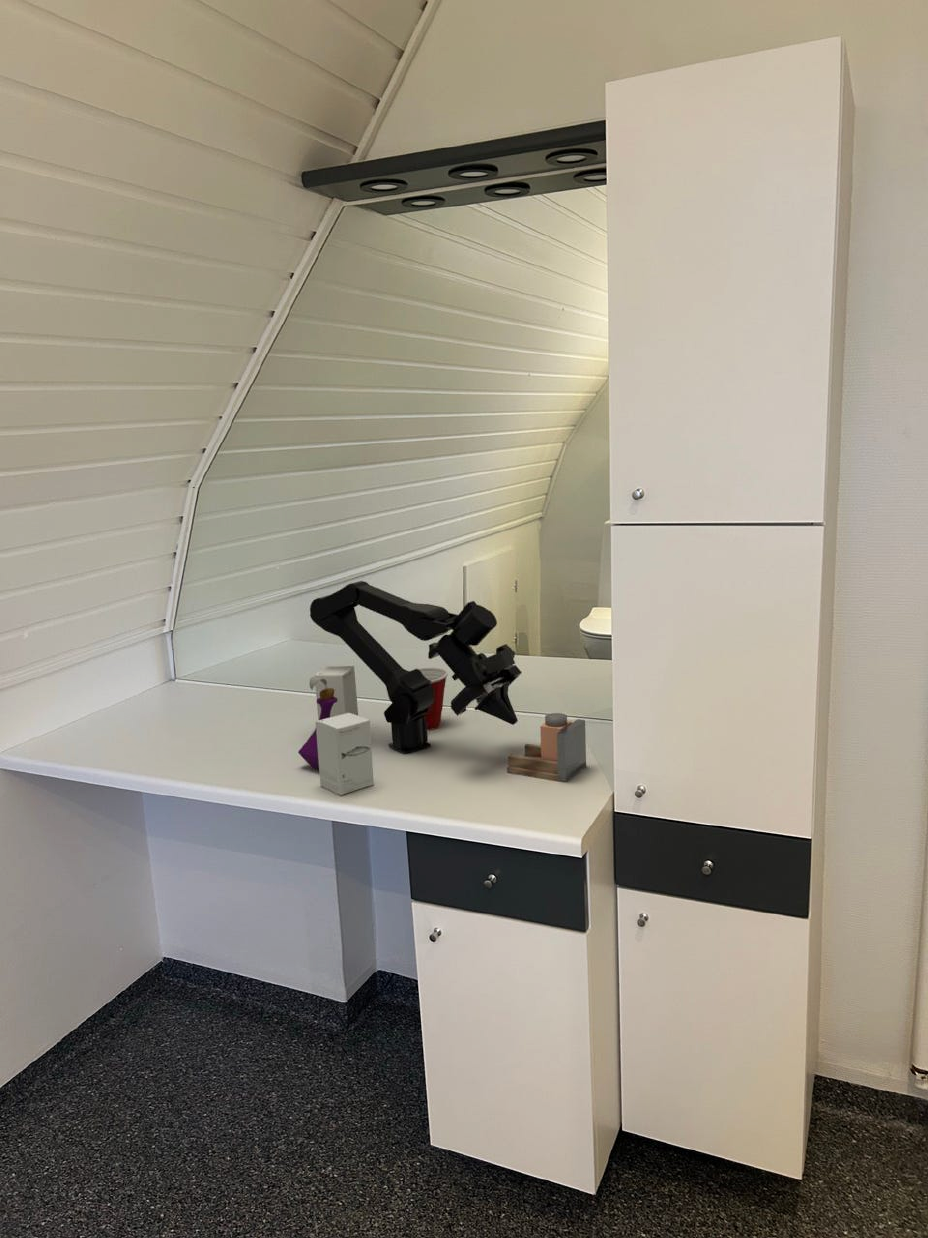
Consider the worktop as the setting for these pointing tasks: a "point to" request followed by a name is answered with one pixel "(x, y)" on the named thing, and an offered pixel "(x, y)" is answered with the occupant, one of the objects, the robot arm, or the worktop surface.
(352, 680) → the skincare box
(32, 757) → the worktop surface
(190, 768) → the worktop surface
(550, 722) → the knob slider
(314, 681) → the perfume bottle
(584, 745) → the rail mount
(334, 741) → the supplement box
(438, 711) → the plastic cup
